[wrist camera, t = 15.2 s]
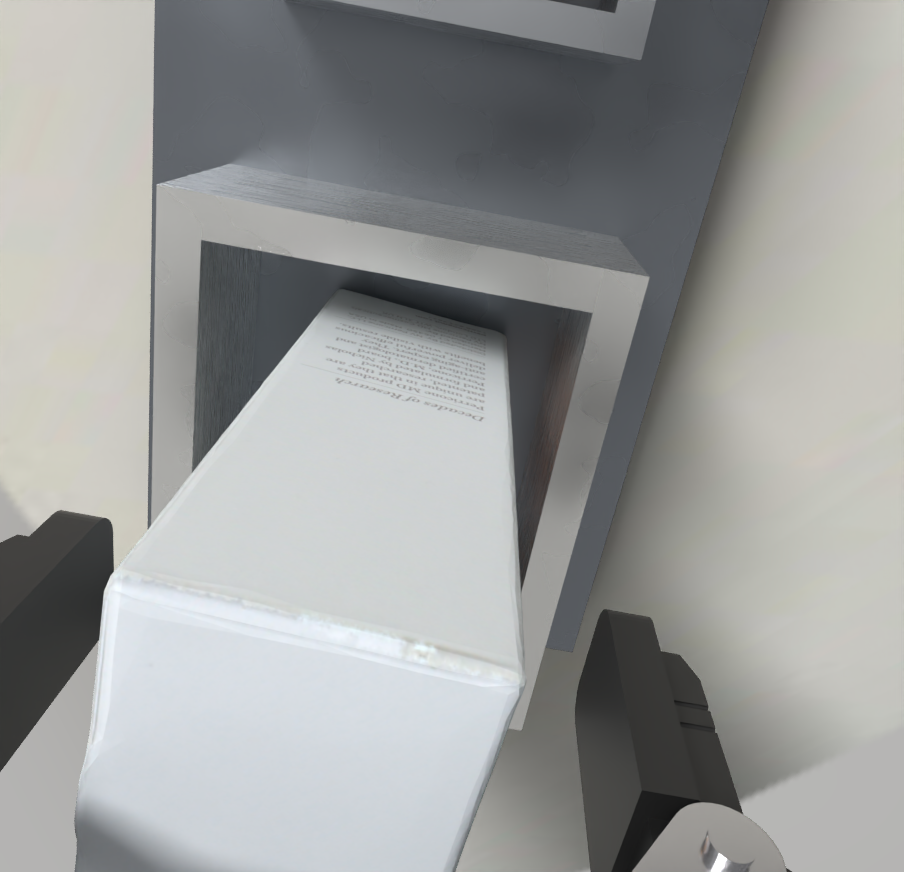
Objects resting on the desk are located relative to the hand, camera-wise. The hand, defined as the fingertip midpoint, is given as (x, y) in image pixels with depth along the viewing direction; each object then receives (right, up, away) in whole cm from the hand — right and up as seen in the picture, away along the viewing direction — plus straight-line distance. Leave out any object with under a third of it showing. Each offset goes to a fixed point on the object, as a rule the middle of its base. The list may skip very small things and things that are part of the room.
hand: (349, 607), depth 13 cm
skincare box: (0, +3, +7) cm, 8 cm away
